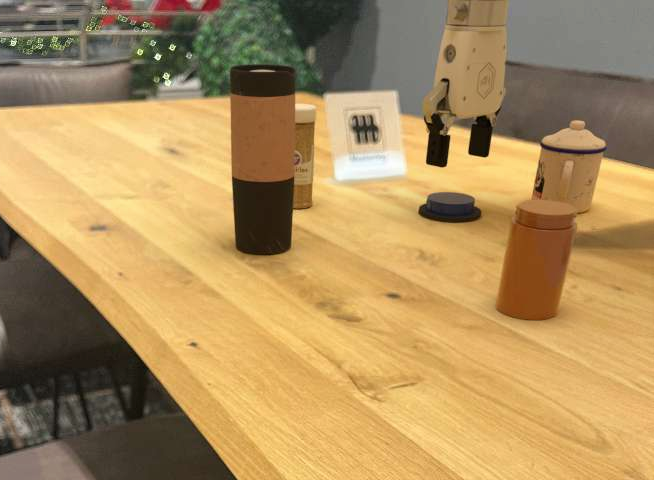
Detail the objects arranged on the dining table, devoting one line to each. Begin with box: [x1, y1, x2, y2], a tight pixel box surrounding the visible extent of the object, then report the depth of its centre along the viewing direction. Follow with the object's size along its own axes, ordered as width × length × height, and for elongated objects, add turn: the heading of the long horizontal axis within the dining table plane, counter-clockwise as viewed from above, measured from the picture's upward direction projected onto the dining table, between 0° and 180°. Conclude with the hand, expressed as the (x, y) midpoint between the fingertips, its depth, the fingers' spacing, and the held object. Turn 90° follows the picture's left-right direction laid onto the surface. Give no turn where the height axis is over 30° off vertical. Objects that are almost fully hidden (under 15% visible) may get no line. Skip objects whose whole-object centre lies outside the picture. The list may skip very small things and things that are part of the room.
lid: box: [425, 191, 476, 216], centre depth 110 cm, size 7×7×2 cm
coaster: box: [418, 203, 483, 223], centre depth 111 cm, size 9×9×1 cm
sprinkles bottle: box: [293, 103, 317, 209], centre depth 110 cm, size 5×5×13 cm
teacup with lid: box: [530, 119, 607, 214], centre depth 110 cm, size 12×9×12 cm
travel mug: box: [229, 63, 297, 256], centre depth 92 cm, size 8×8×20 cm
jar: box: [495, 199, 579, 321], centre depth 78 cm, size 6×6×10 cm
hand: (457, 160), depth 107 cm, fingers open, 9 cm apart
